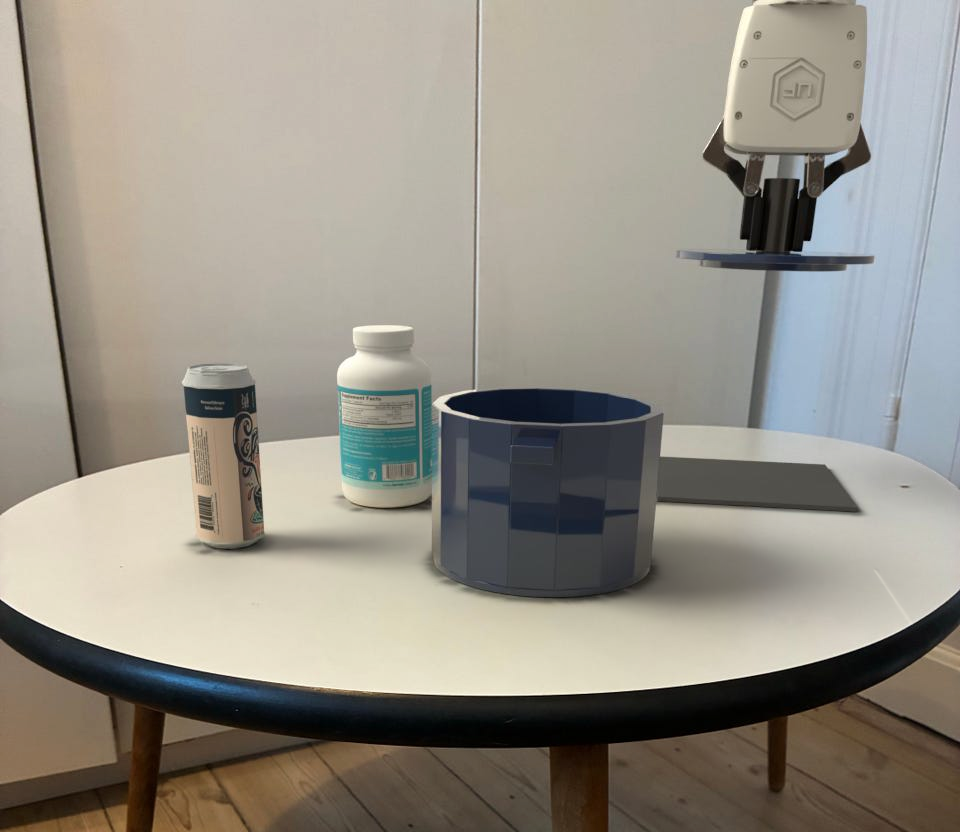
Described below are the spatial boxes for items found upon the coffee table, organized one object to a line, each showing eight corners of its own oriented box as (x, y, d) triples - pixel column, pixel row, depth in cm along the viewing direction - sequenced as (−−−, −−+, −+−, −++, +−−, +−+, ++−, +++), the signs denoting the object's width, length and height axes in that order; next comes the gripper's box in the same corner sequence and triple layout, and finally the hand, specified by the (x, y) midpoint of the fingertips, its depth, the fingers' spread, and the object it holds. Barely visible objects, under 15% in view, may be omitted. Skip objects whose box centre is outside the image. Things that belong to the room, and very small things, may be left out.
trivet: (824, 468, 98) (825, 464, 97) (856, 512, 83) (857, 507, 83) (655, 460, 100) (655, 456, 99) (657, 501, 85) (657, 496, 85)
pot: (649, 526, 78) (660, 386, 74) (650, 620, 59) (666, 440, 55) (459, 515, 80) (461, 378, 76) (404, 603, 61) (402, 427, 57)
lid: (852, 266, 91) (864, 183, 88) (892, 275, 76) (908, 176, 74) (671, 261, 93) (678, 180, 90) (677, 269, 78) (685, 173, 76)
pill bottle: (382, 483, 89) (379, 321, 84) (450, 496, 85) (451, 327, 80) (322, 500, 83) (315, 327, 78) (392, 515, 79) (389, 334, 74)
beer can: (268, 548, 71) (257, 371, 66) (197, 553, 70) (181, 372, 65) (262, 529, 75) (251, 361, 70) (194, 533, 74) (179, 362, 69)
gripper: (697, -21, 74) (674, 249, 81) (931, -23, 72) (886, 255, 79) (693, -1, 81) (671, 247, 88) (906, -2, 79) (867, 252, 86)
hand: (773, 248), depth 84 cm, fingers closed on lid, 2 cm apart
